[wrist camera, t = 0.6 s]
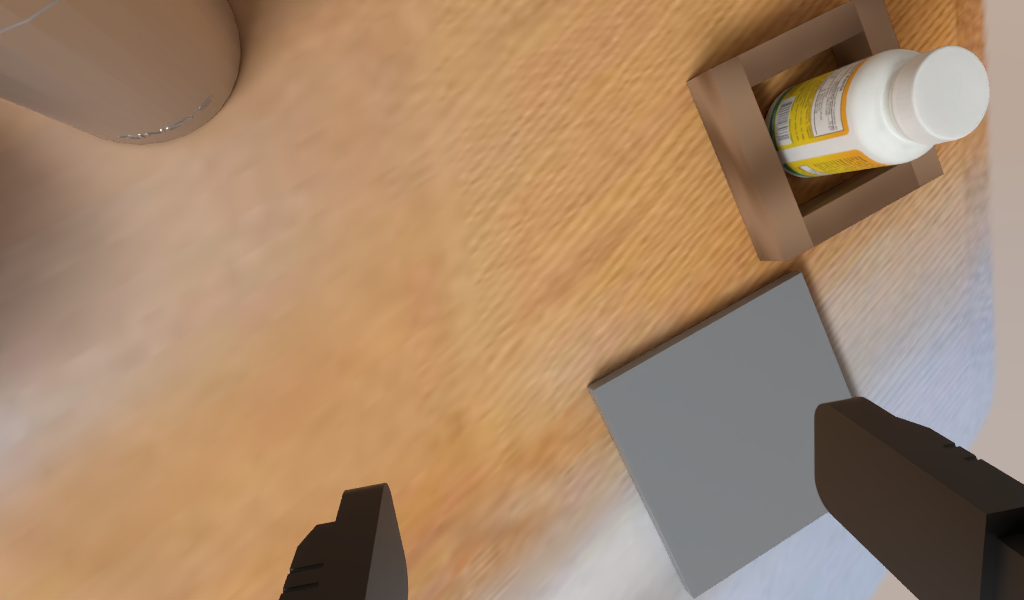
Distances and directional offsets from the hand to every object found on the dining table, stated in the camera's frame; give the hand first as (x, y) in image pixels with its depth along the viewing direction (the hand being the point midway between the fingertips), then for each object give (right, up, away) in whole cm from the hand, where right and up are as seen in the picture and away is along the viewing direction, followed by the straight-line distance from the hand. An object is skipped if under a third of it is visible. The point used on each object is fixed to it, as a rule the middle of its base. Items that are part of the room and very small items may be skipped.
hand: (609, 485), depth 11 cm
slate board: (+12, -4, +25) cm, 28 cm away
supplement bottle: (+15, +13, +25) cm, 32 cm away
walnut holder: (+15, +13, +24) cm, 31 cm away
